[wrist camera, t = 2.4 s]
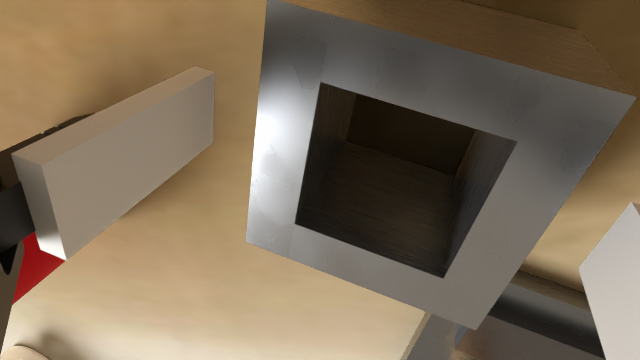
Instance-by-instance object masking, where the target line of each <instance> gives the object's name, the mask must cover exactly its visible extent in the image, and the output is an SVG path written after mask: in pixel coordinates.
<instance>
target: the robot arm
mask: <svg viewBox="0 0 640 360" xmlns="http://www.w3.org/2000/svg"><path fill="white" fill-rule="evenodd" d="M214 94H215V72H213V71H210V70H207V69H203V68H200V67H197V66H194V67H192V68H190V69H187V70H185V71H183V72H181V73H179V74H177V75H175V76H173V77H171V78H169V79H166V80H164V81H162V82H160V83H158V84H156V85H154V86H152V87H150V88H148V89H146V90H143V91H141V92H139V93H137V94H135V95H133V96H131V97H129V98H127V99H125V100H122V101H120V102H118V103H116V104H114V105H112V106H110V107H108V108H106V109H104V110H101V111H99V112H97V113H92V114H88V115H83V116H79V117H74V118H72V119H70V120H68V121H66V122H64V123H61V124H59V125H58V127H57V128H56V127H53V128H51V129H48V130H46V131H44V133H43V134H41V133H40V134H38V135H36V136H33V137H31V138H29V139H27V140H25V141H23V142H20V143H18V144H16V145H14V146H12V147H10V148H7V149H5V150H3V151H1V152H0V354H1V350H2V345H3V341H4V337H5V333H6V328H7V324H8V320H9V315H10V311H11V307H12V303H13V298H14V294H15V290H16V286H17V281H18V277H19V273H20V268H21V264H22V260H23V256H24V244H23V241H22V240H23V239H24V238H26V237H27V236H29V235H30V234H32V233H33V232H35V234H36V237H37V240H38V244H39V247H40V250H43V251H45V252H47V253H50V254H52V255H54V256H57V257H59V258H62V259H64V260H66V261H67V260H68V259H69V258H70V257H72V256H73V255H74V254H75V253H77V252H78V251H79V250H80V249H82V248H83V247H84V246H85V245H87V244H88V243H89V242H90V241H92V240H93V239H94V238H95V237H96V236H98V235H99V234H100V233H101V232H103V231H104V230H105V229H106V228H108V227H109V226H110V225H111V224H113V223H114V222H115V221H116V220H118V219H119V218H120V217H121V216H123V215H124V214H125V213H126V212H128V211H129V210H130V209H131V208H133V207H134V206H135V205H136V204H138V203H139V202H140V201H141V200H143V199H144V198H145V197H146V196H148V195H149V194H150V193H151V192H153V191H154V190H155V189H156V188H157V187H159V186H160V185H161V184H162V183H164V182H165V181H166V180H167V179H169V178H170V177H171V176H172V175H174V174H175V173H176V172H177V171H179V170H180V169H181V168H182V167H184V166H185V165H186V164H187V163H189V162H190V161H191V160H192V159H194V158H195V157H196V156H197V155H199V154H200V153H201V152H202V151H204V150H205V149H206V148H207V147H209V146H210V145H211V144H212V143H213V126H214ZM578 269H579V273H580V276H581V279H582V282H583V286H584V289H585V292H586V295H587V299H588V302H589V305H590V309H591V312H592V315H593V318H594V322H595V325H596V328H597V331H598V335H599V338H600V341H601V345H602V348H603V351H604V354H605V358H606V360H640V204H638V203H635V202H631V203H630V204H629V205H628V206H627V208H626V209H625V210H624V211H623V213H622V214H621V215H620V216H619V218H618V219H617V220H616V221H615V223H614V224H613V225H612V226H611V228H610V229H609V230H608V231H607V233H606V234H605V235H604V237H603V238H602V239H601V240H600V242H599V243H598V244H597V245H596V247H595V248H594V249H593V250H592V252H591V253H590V254H589V255H588V257H587V258H586V259H585V260H584V262H583V263H582V264H581V265H580V267H579V268H578Z"/></svg>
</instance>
